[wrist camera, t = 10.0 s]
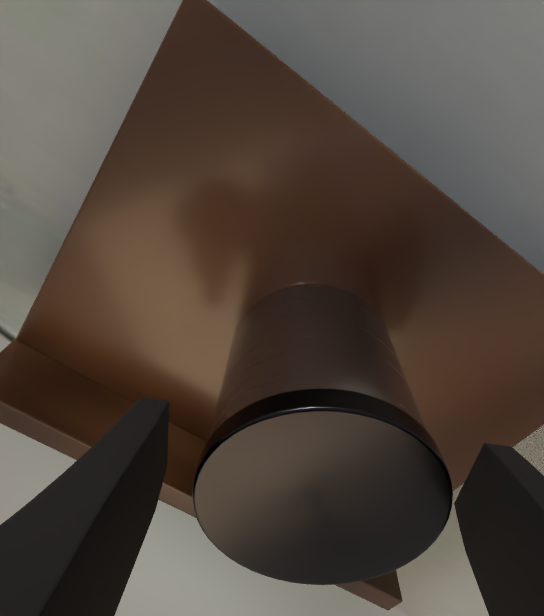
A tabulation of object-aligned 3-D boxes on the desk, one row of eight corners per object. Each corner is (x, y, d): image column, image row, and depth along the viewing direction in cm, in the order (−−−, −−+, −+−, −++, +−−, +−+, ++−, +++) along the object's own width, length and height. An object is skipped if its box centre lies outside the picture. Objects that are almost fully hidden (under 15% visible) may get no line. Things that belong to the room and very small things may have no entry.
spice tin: (418, 299, 13) (500, 438, 8) (364, 430, 15) (401, 601, 10) (243, 263, 12) (210, 382, 7) (217, 402, 15) (178, 565, 10)
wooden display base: (581, 309, 16) (709, 406, 11) (365, 488, 20) (388, 611, 16) (211, 8, 12) (157, -46, 7) (52, 312, 17) (-44, 402, 12)
